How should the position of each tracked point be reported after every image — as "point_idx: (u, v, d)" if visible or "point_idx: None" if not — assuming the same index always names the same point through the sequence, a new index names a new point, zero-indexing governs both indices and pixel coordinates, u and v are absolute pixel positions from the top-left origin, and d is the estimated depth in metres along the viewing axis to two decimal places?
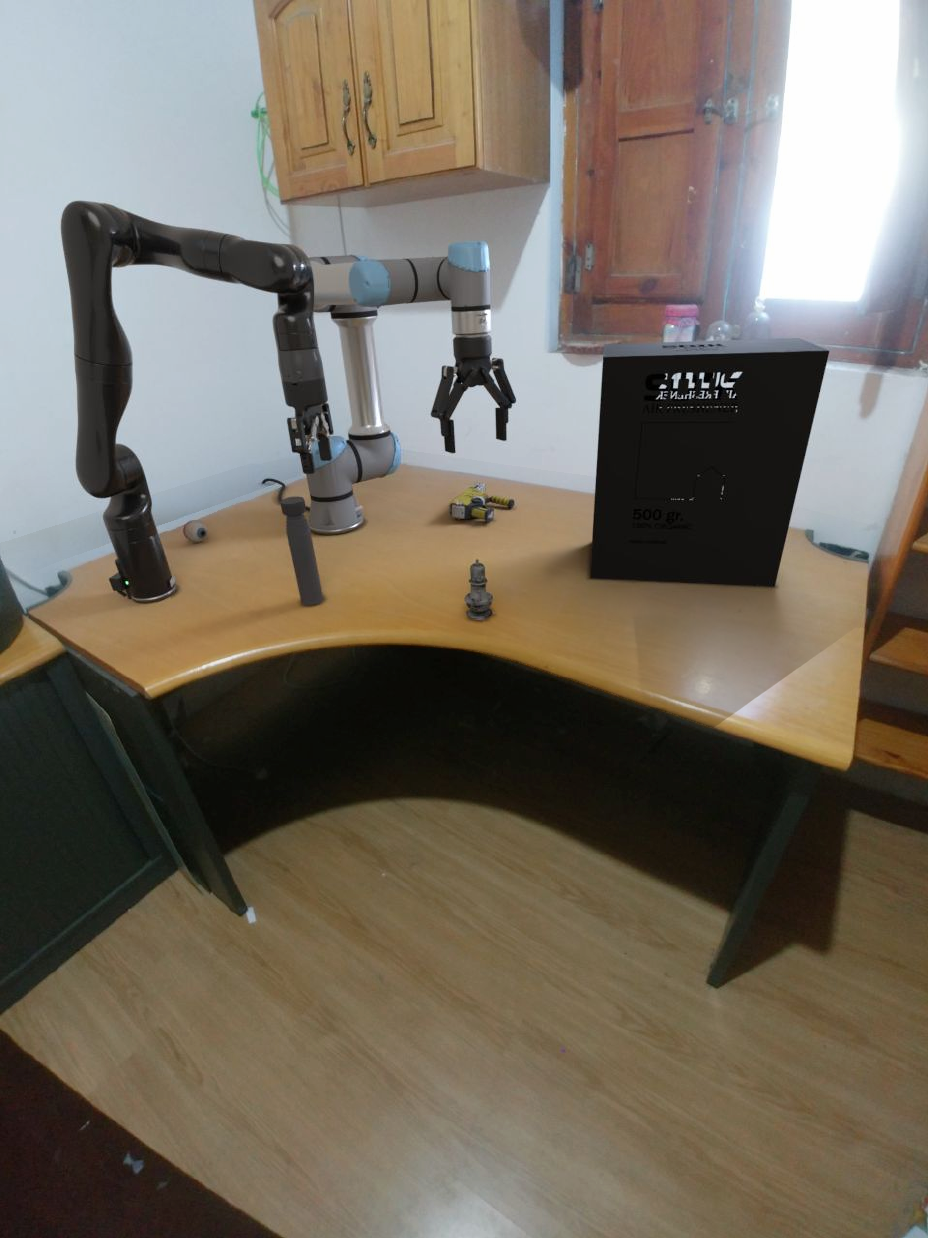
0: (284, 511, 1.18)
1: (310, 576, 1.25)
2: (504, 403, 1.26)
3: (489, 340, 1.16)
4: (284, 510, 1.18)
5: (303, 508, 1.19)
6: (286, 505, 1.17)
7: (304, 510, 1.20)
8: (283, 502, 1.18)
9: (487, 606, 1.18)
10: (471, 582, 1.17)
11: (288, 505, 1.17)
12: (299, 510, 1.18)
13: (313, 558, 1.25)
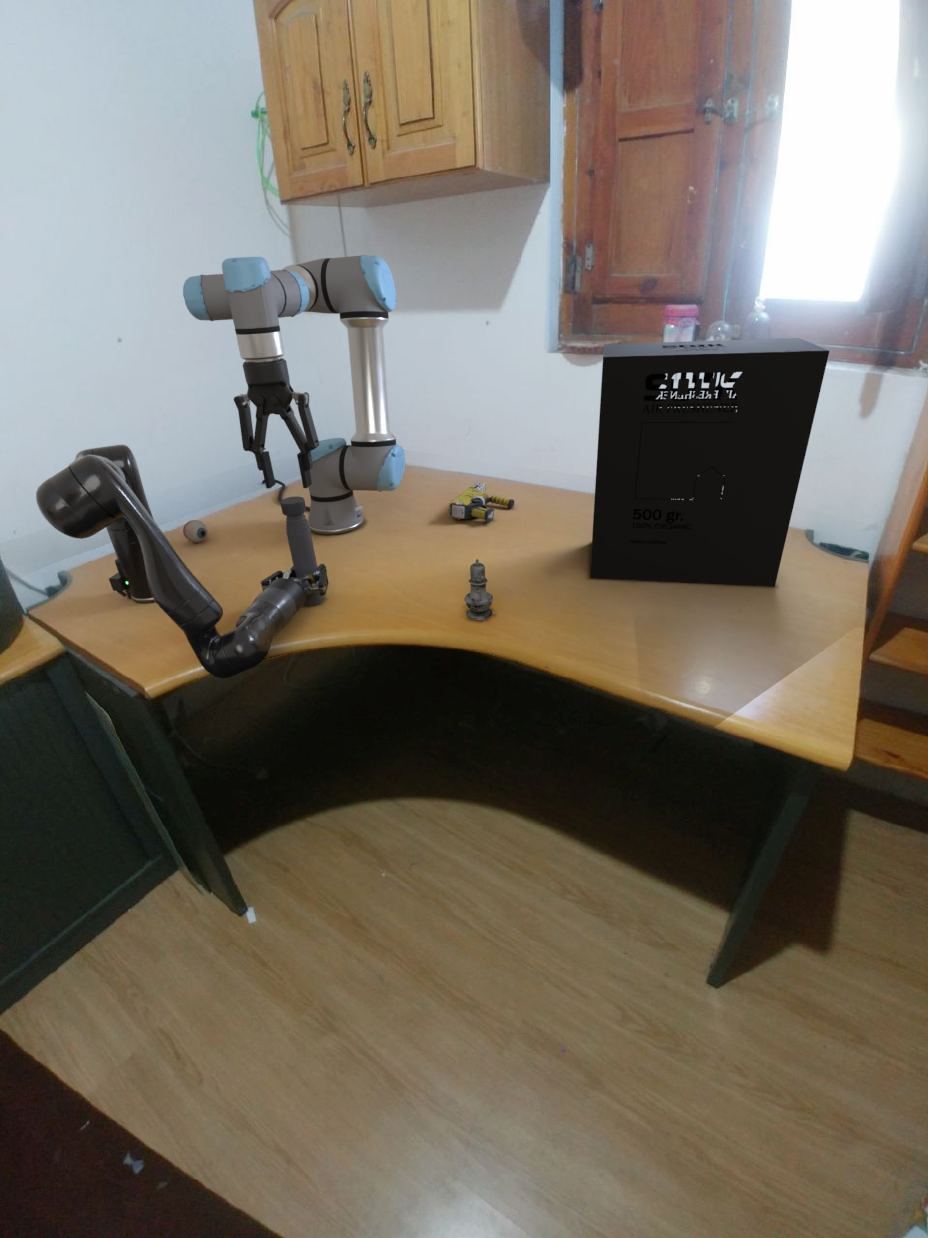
0: (284, 511, 1.18)
1: None
2: None
3: None
4: (284, 510, 1.18)
5: (303, 508, 1.19)
6: (286, 505, 1.17)
7: (304, 510, 1.20)
8: (283, 502, 1.18)
9: (487, 606, 1.18)
10: (471, 582, 1.17)
11: (288, 505, 1.17)
12: (299, 510, 1.18)
13: (313, 558, 1.25)
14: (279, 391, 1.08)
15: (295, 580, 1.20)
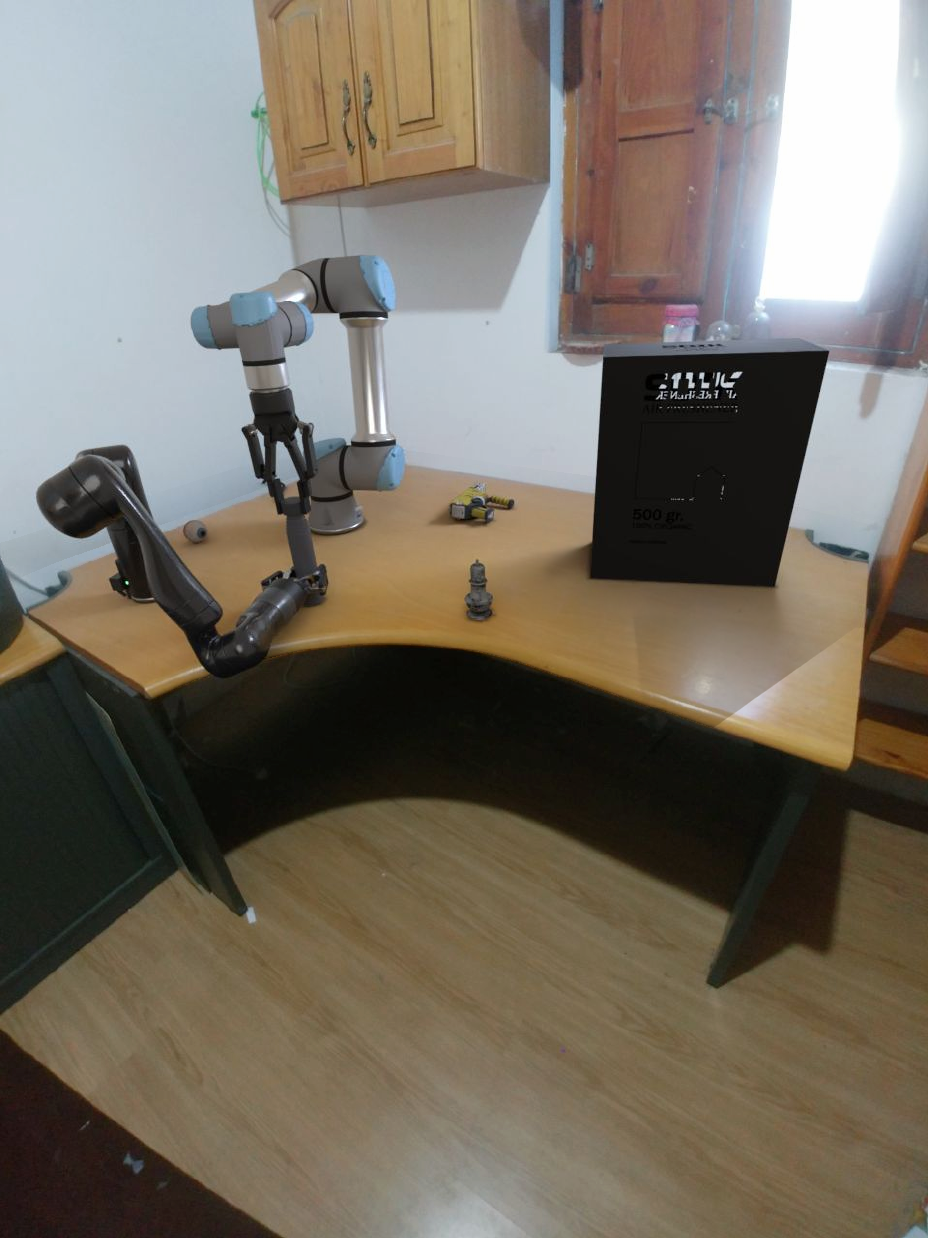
0: (284, 511, 1.18)
1: None
2: None
3: None
4: (284, 510, 1.18)
5: None
6: (286, 505, 1.17)
7: None
8: (283, 502, 1.18)
9: (487, 606, 1.18)
10: (471, 582, 1.17)
11: (288, 505, 1.17)
12: (299, 510, 1.18)
13: (313, 558, 1.25)
14: (285, 420, 1.10)
15: (295, 580, 1.20)
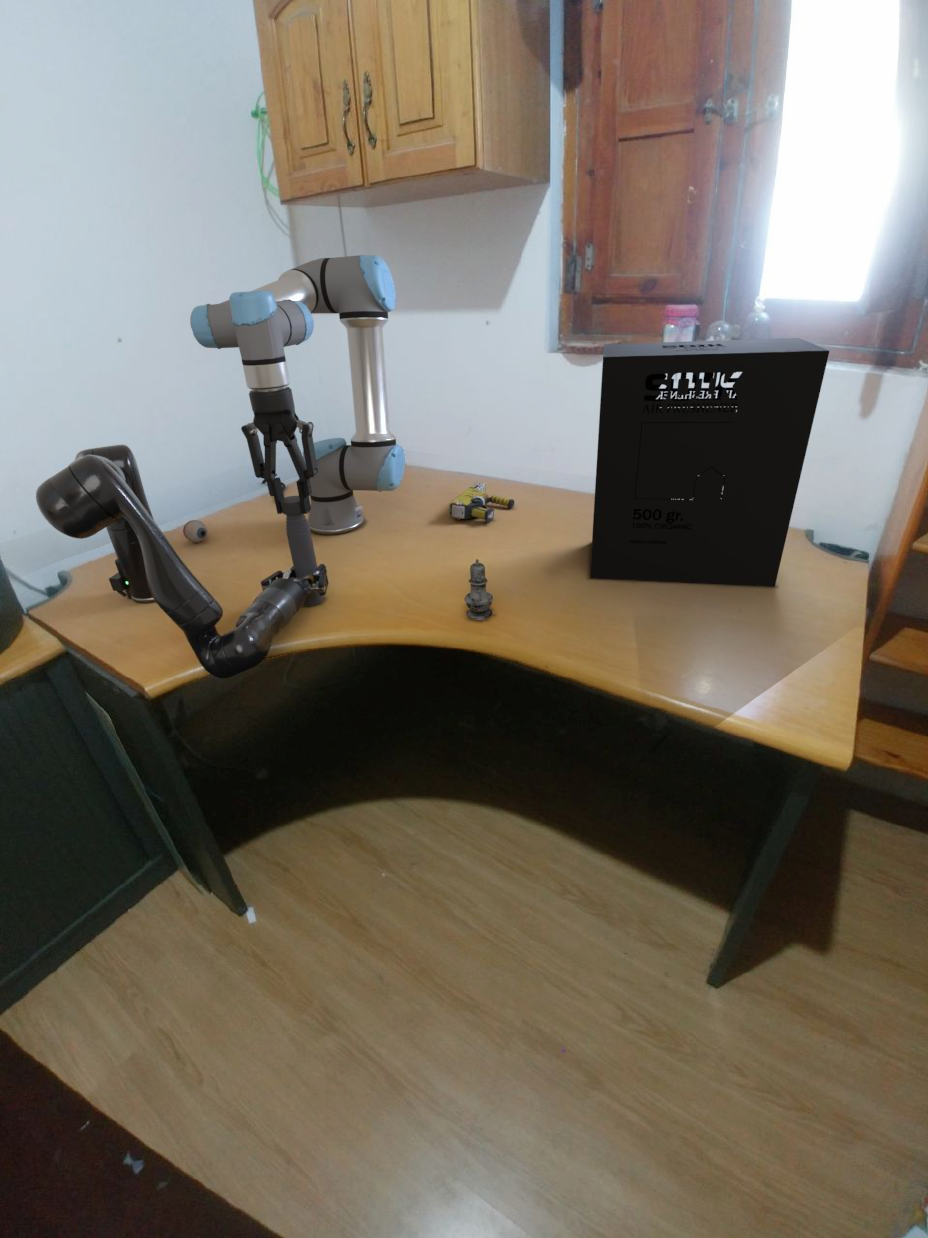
0: None
1: None
2: None
3: None
4: None
5: None
6: None
7: None
8: None
9: (487, 606, 1.18)
10: (471, 582, 1.17)
11: None
12: None
13: (313, 558, 1.25)
14: (285, 419, 1.10)
15: (295, 580, 1.20)
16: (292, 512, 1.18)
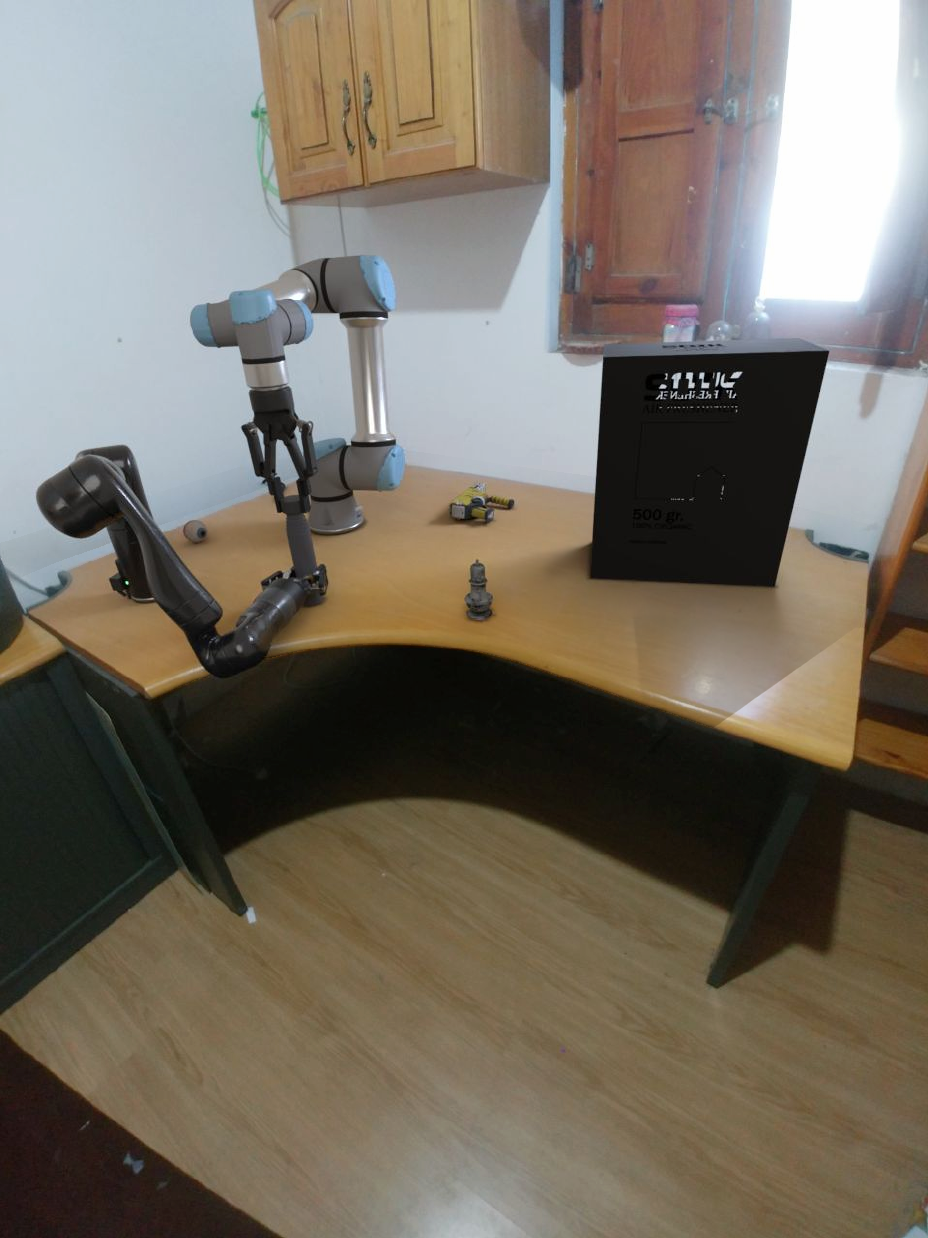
0: None
1: None
2: None
3: None
4: None
5: (287, 510, 1.18)
6: None
7: (289, 512, 1.18)
8: (287, 496, 1.20)
9: (487, 606, 1.18)
10: (471, 582, 1.17)
11: None
12: (283, 509, 1.18)
13: (313, 558, 1.25)
14: (284, 418, 1.10)
15: (295, 580, 1.20)
16: None
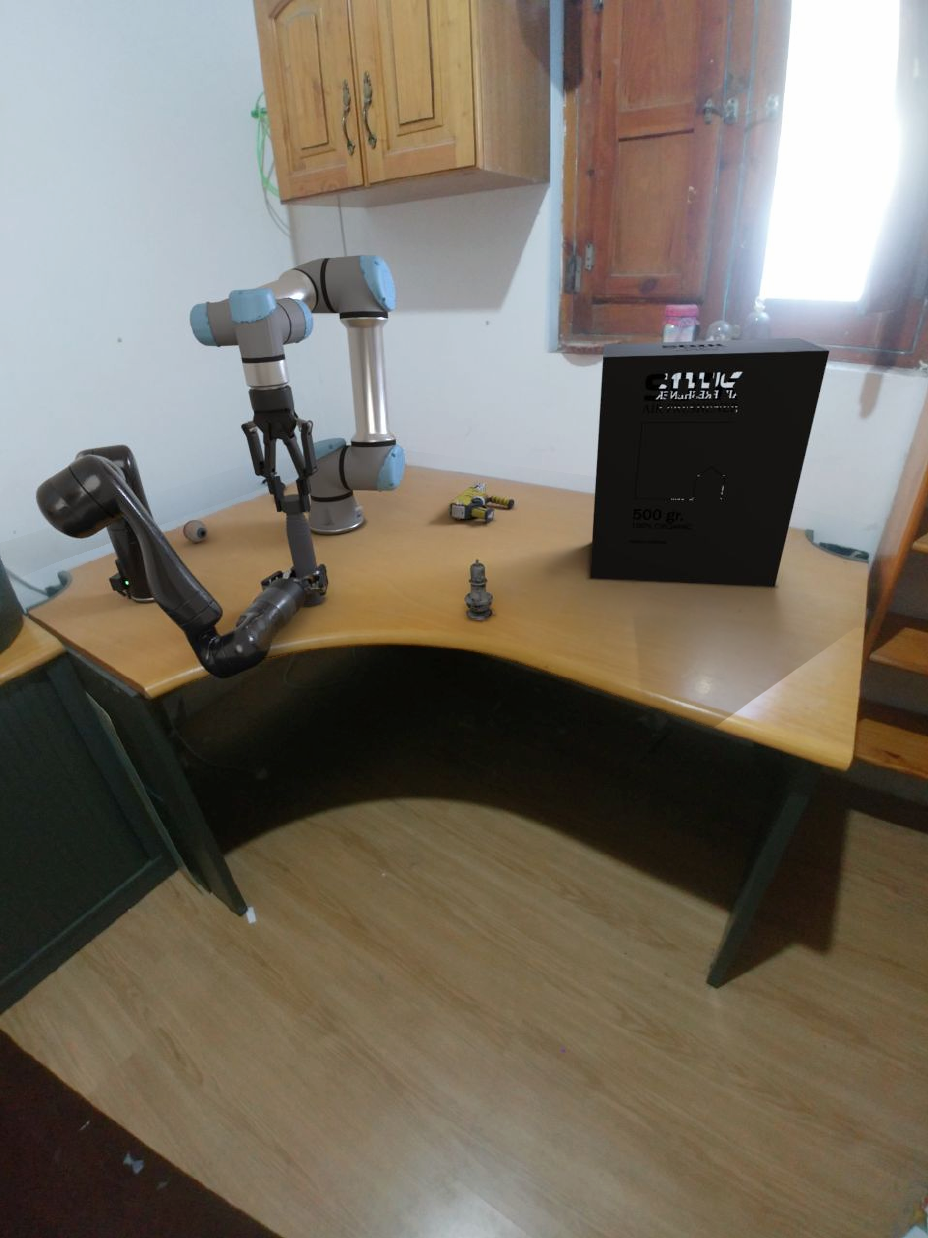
0: (293, 509, 1.18)
1: None
2: None
3: None
4: (293, 508, 1.18)
5: None
6: (295, 502, 1.17)
7: None
8: (289, 500, 1.17)
9: (487, 606, 1.18)
10: (471, 582, 1.17)
11: (298, 501, 1.18)
12: None
13: (313, 558, 1.25)
14: (284, 417, 1.10)
15: (295, 580, 1.20)
16: None
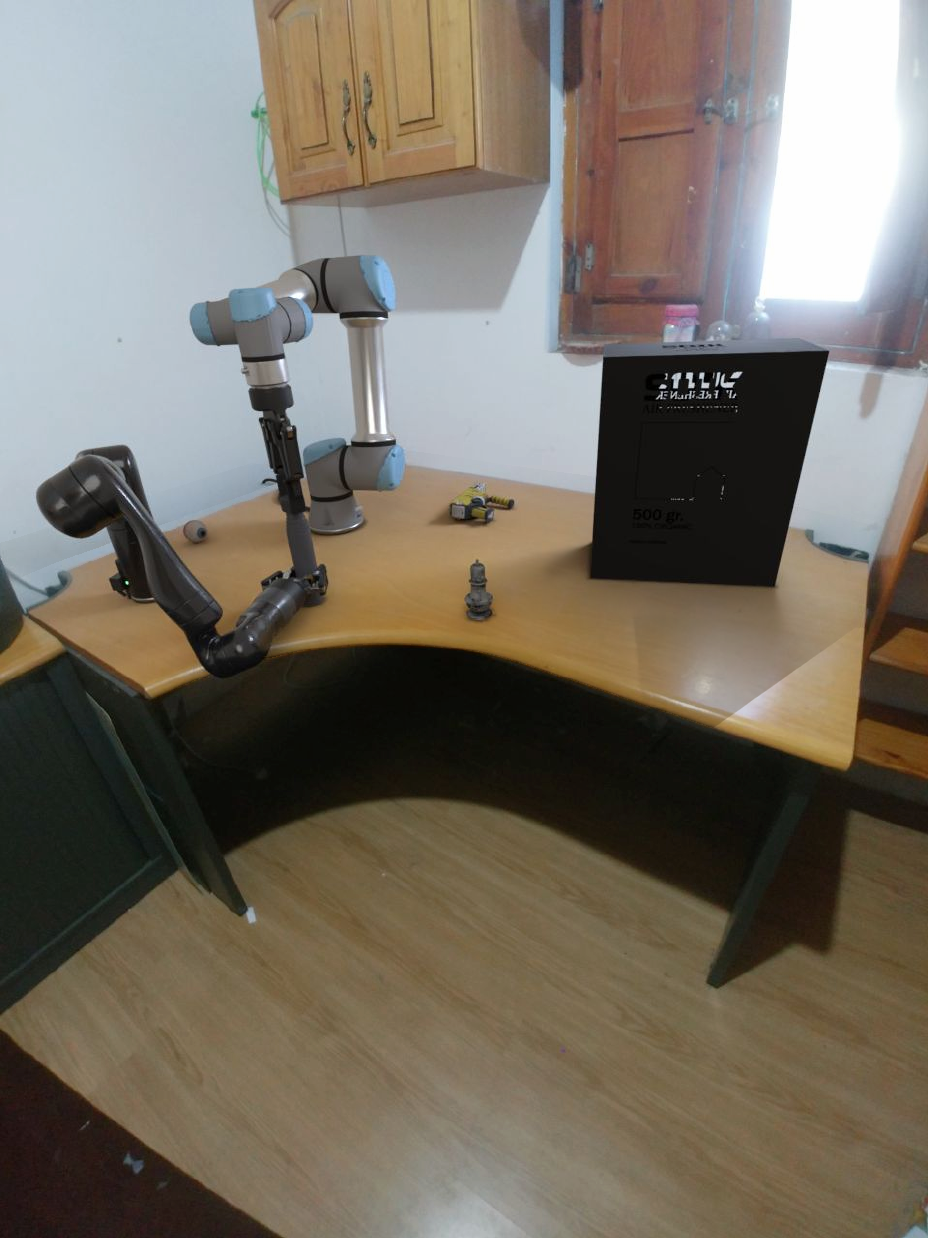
0: None
1: None
2: (285, 474, 1.13)
3: (254, 394, 1.06)
4: None
5: None
6: None
7: None
8: None
9: (487, 606, 1.18)
10: (471, 582, 1.17)
11: None
12: None
13: (313, 558, 1.25)
14: None
15: (295, 580, 1.20)
16: None
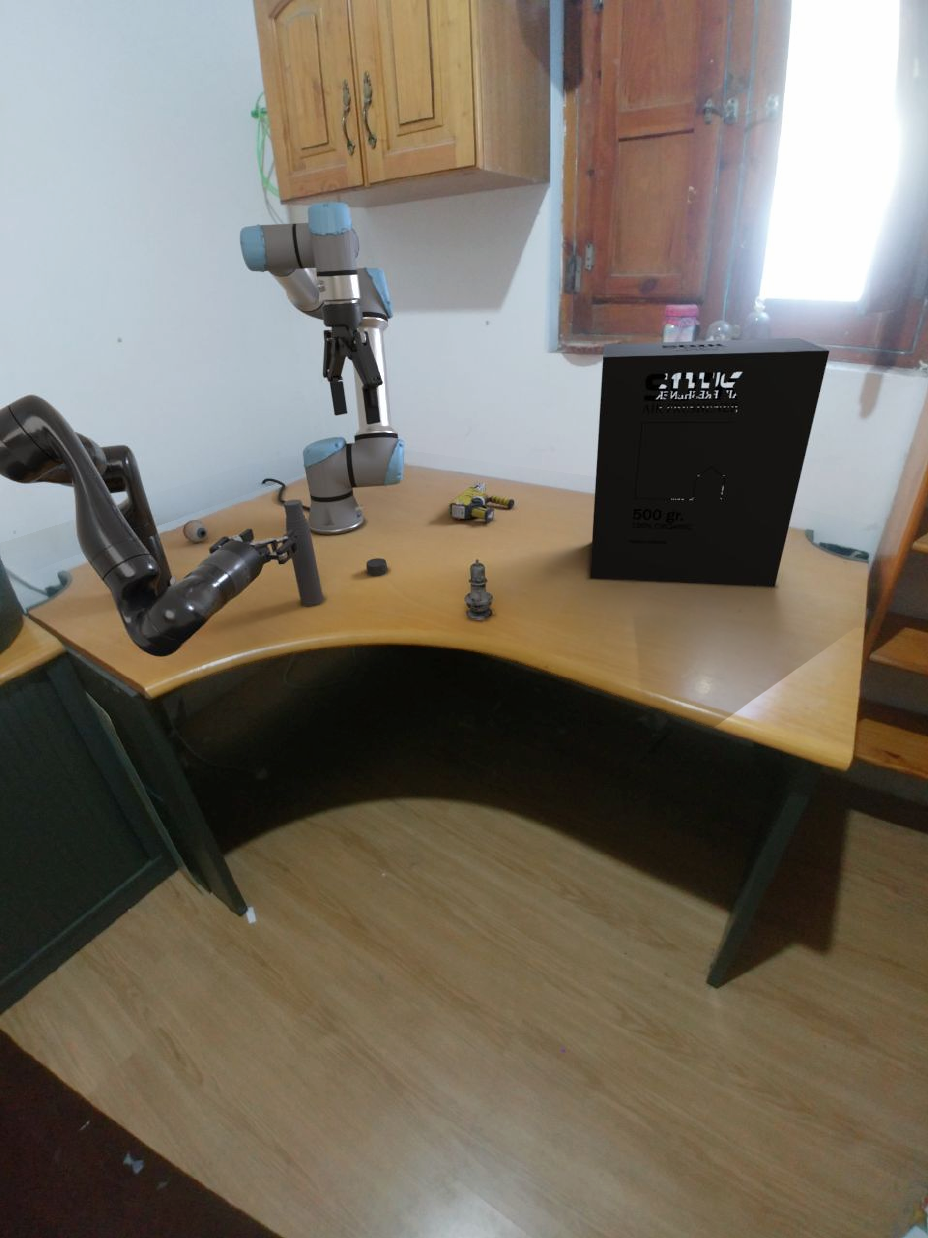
0: None
1: (310, 576, 1.25)
2: (363, 383, 1.15)
3: (329, 309, 1.11)
4: None
5: None
6: None
7: None
8: (382, 559, 1.41)
9: (487, 606, 1.18)
10: (471, 582, 1.17)
11: None
12: None
13: (313, 558, 1.24)
14: None
15: (251, 543, 1.03)
16: (384, 571, 1.40)
